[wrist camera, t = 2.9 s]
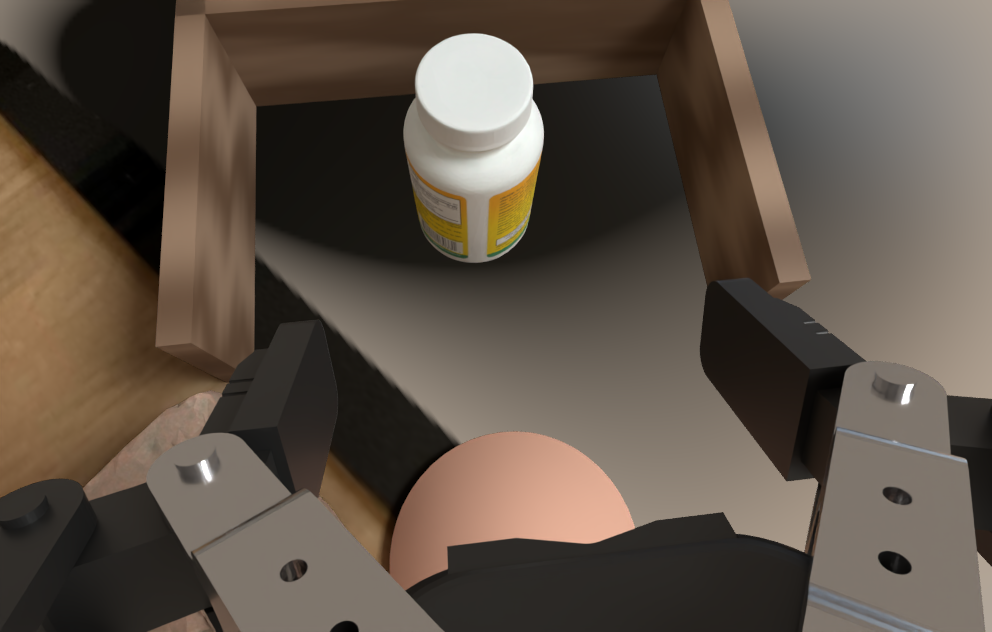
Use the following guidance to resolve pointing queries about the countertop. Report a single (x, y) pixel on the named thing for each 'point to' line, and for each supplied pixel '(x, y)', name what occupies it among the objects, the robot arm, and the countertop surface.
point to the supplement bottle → (473, 146)
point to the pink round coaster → (503, 501)
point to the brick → (142, 454)
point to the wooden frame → (391, 71)
